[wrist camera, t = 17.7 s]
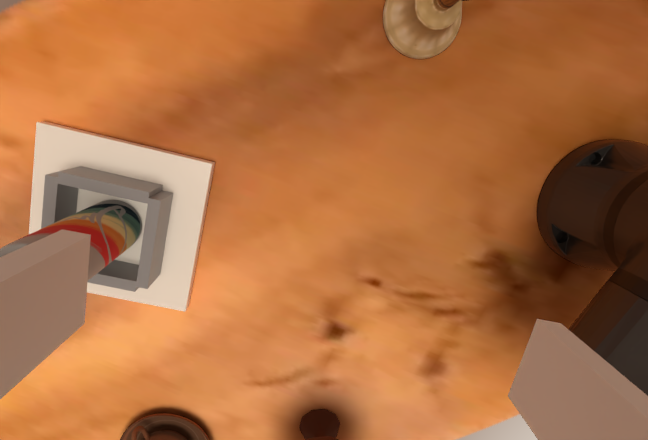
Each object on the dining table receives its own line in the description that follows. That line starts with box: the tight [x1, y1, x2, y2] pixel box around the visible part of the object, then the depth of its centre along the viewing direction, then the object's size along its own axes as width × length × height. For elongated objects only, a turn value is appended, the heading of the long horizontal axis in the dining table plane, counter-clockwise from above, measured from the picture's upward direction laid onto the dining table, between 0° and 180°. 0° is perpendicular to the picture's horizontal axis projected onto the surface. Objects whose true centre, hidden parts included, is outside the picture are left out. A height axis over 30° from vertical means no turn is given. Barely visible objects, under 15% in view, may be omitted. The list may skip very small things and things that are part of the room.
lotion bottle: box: [0, 200, 142, 280], centre depth 35 cm, size 6×6×20 cm
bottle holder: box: [29, 122, 215, 311], centre depth 43 cm, size 18×18×6 cm
